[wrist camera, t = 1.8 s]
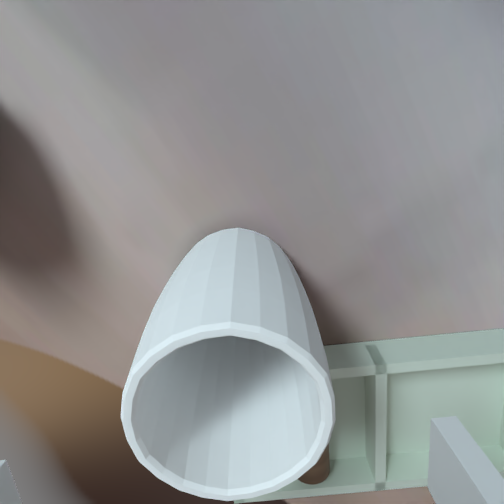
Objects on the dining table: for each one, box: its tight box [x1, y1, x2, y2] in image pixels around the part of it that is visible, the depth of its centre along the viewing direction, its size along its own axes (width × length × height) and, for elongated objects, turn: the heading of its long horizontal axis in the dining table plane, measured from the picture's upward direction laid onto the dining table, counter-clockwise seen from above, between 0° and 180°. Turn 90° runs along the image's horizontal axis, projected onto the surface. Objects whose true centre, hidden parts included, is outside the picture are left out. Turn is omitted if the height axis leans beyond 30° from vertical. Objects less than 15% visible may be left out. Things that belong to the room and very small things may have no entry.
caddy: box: [234, 329, 504, 503], centre depth 29 cm, size 12×23×3 cm, turn 96°
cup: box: [121, 228, 336, 501], centre depth 20 cm, size 8×8×14 cm
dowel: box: [298, 443, 330, 485], centre depth 29 cm, size 8×3×3 cm, turn 6°
